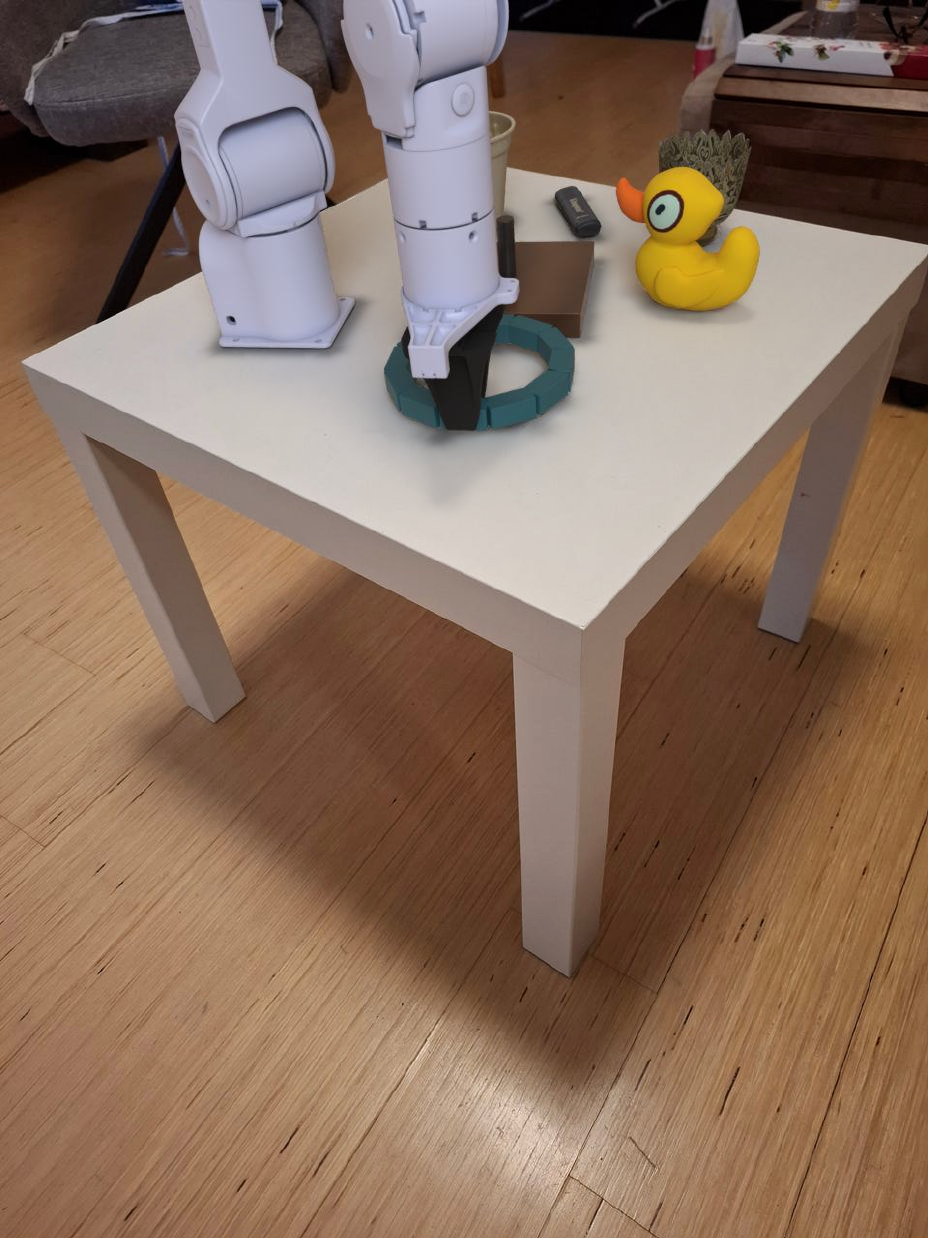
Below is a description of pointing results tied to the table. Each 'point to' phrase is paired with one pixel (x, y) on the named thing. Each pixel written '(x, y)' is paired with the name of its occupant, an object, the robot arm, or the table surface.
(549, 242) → the ring toss peg base
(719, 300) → the duckling
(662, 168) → the cup
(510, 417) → the teal segmented ring
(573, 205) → the usb stick
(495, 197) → the flower pot
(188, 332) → the table surface
